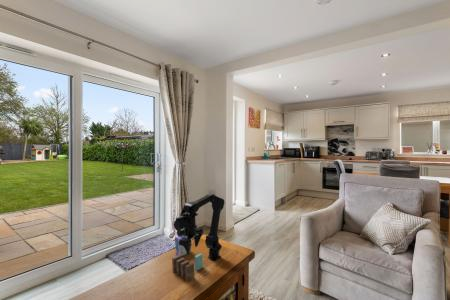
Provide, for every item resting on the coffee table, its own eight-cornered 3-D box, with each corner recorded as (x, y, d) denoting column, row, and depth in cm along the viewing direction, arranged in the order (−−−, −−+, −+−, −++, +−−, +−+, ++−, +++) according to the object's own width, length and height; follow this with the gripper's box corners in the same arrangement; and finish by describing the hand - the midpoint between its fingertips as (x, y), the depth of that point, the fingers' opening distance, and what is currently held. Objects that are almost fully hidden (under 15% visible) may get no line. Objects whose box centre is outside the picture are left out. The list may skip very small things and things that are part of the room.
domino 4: (185, 280, 119) (185, 266, 119) (192, 276, 122) (192, 262, 122) (187, 281, 118) (187, 267, 118) (194, 277, 121) (194, 263, 121)
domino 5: (194, 269, 129) (194, 256, 129) (201, 266, 133) (200, 253, 133) (196, 270, 128) (196, 257, 128) (202, 267, 132) (202, 254, 132)
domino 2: (176, 274, 125) (176, 260, 125) (183, 270, 128) (183, 257, 128) (178, 275, 124) (177, 261, 124) (185, 271, 127) (184, 258, 127)
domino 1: (172, 271, 128) (172, 258, 128) (179, 268, 131) (178, 255, 131) (174, 272, 127) (173, 259, 127) (180, 269, 130) (180, 256, 130)
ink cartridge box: (187, 249, 155) (186, 229, 155) (191, 252, 151) (190, 231, 151) (175, 254, 149) (174, 233, 149) (178, 257, 145) (178, 235, 144)
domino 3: (181, 277, 122) (180, 263, 122) (188, 273, 125) (187, 260, 125) (182, 278, 121) (182, 264, 121) (189, 274, 124) (189, 261, 124)
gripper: (187, 218, 139) (189, 241, 140) (169, 229, 122) (171, 256, 122) (202, 219, 135) (204, 243, 135) (186, 231, 118) (188, 259, 118)
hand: (192, 250), depth 128 cm, fingers open, 9 cm apart
